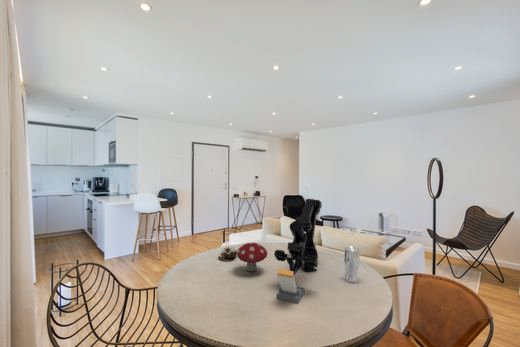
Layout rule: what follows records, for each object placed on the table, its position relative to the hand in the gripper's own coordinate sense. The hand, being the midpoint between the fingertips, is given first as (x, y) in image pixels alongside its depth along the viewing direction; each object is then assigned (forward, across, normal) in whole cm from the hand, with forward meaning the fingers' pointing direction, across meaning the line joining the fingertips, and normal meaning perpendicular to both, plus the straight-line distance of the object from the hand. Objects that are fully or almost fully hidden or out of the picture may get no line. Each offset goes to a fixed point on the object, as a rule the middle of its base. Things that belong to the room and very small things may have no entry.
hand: (291, 277), depth 101 cm
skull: (-12, -48, +24) cm, 55 cm away
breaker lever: (+5, 0, +1) cm, 5 cm away
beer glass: (-13, +22, +24) cm, 35 cm away
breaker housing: (+6, 0, +5) cm, 8 cm away
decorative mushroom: (-4, -26, +15) cm, 30 cm away
